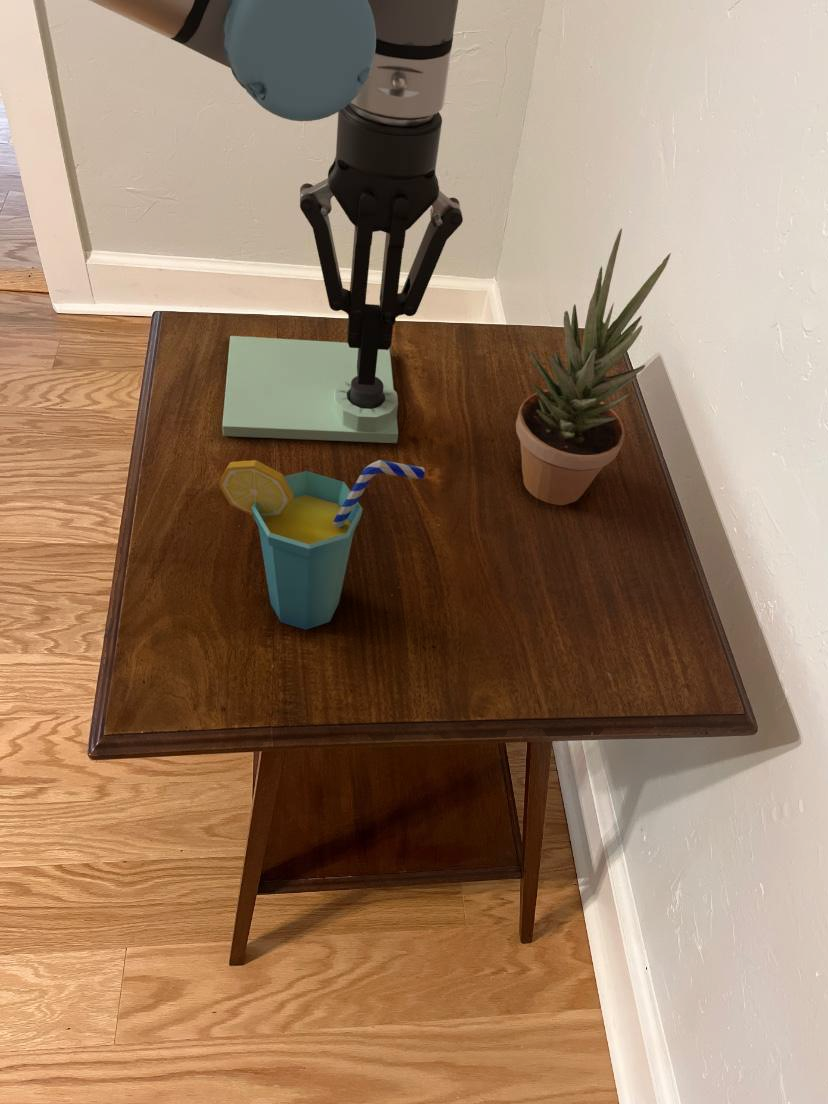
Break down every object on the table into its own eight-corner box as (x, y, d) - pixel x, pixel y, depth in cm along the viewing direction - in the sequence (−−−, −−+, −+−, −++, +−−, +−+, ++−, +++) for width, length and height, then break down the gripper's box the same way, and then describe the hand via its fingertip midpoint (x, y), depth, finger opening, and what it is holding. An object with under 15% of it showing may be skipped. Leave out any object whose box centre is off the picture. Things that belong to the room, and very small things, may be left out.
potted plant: (606, 461, 88) (693, 219, 70) (599, 528, 82) (693, 282, 64) (506, 438, 88) (566, 190, 70) (491, 502, 82) (553, 250, 64)
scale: (222, 436, 83) (221, 410, 81) (230, 345, 92) (229, 319, 89) (397, 443, 86) (400, 418, 83) (388, 354, 95) (391, 329, 92)
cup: (399, 566, 76) (419, 425, 64) (408, 640, 71) (432, 502, 60) (227, 566, 73) (216, 419, 62) (224, 643, 68) (212, 499, 57)
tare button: (350, 408, 84) (351, 393, 83) (349, 388, 86) (350, 373, 84) (382, 410, 84) (384, 395, 83) (381, 390, 86) (382, 375, 85)
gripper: (299, 116, 62) (292, 397, 79) (486, 137, 64) (439, 405, 82) (299, 71, 66) (293, 346, 84) (474, 93, 69) (432, 355, 86)
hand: (365, 375), depth 83 cm, fingers closed
